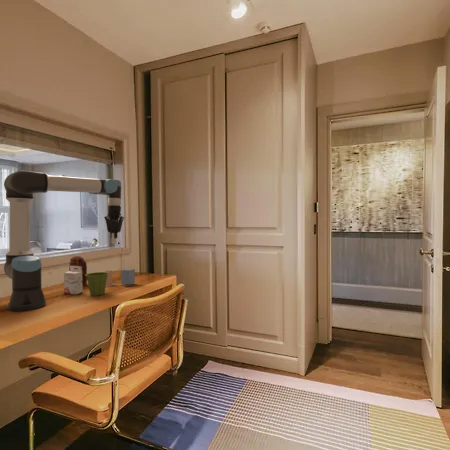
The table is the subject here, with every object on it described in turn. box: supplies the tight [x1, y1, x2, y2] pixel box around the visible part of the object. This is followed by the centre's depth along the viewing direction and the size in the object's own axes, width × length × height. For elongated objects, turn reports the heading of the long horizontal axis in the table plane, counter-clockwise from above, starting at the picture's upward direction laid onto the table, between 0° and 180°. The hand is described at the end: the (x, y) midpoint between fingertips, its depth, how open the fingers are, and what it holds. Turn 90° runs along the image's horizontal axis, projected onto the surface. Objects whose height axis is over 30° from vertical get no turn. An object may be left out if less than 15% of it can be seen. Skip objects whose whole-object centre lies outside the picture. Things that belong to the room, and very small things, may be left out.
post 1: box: [105, 270, 117, 287], centre depth 191 cm, size 6×6×9 cm
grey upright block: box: [120, 268, 136, 285], centre depth 192 cm, size 6×6×9 cm
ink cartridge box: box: [63, 265, 83, 295], centre depth 172 cm, size 9×5×15 cm, turn 74°
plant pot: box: [85, 271, 109, 297], centre depth 169 cm, size 12×12×11 cm
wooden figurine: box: [68, 255, 88, 287], centre depth 191 cm, size 12×6×18 cm, turn 86°
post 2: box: [121, 282, 136, 287], centre depth 192 cm, size 6×6×9 cm
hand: (113, 243), depth 189 cm, fingers closed
